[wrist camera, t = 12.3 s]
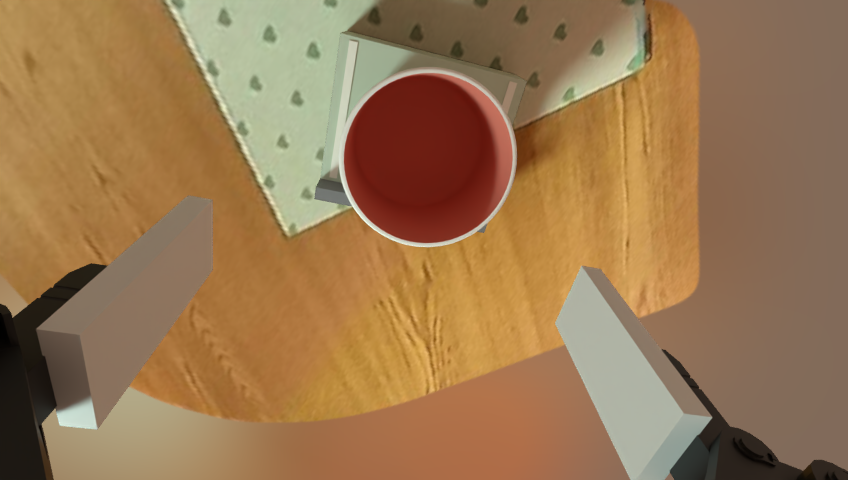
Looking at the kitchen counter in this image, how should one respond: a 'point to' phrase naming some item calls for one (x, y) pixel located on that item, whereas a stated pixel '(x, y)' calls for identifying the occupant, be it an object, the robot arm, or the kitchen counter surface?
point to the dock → (372, 63)
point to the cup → (427, 156)
